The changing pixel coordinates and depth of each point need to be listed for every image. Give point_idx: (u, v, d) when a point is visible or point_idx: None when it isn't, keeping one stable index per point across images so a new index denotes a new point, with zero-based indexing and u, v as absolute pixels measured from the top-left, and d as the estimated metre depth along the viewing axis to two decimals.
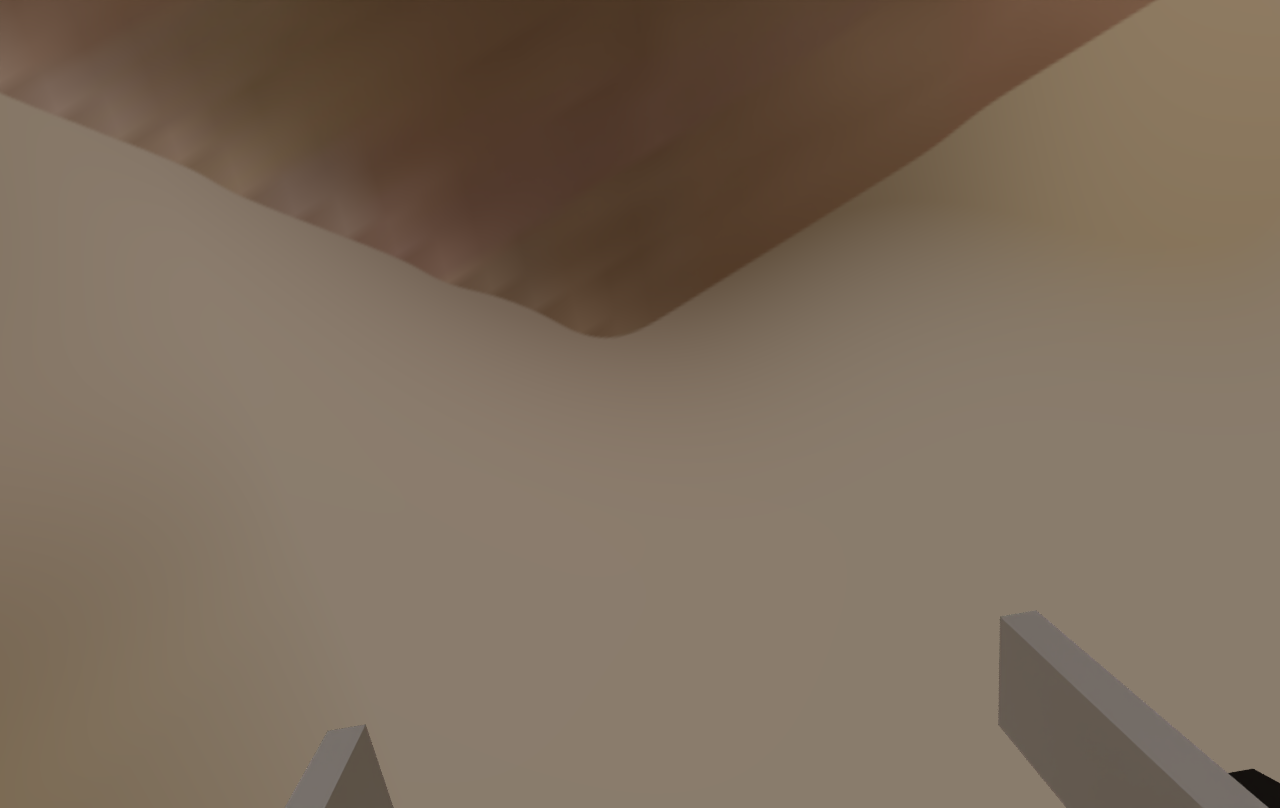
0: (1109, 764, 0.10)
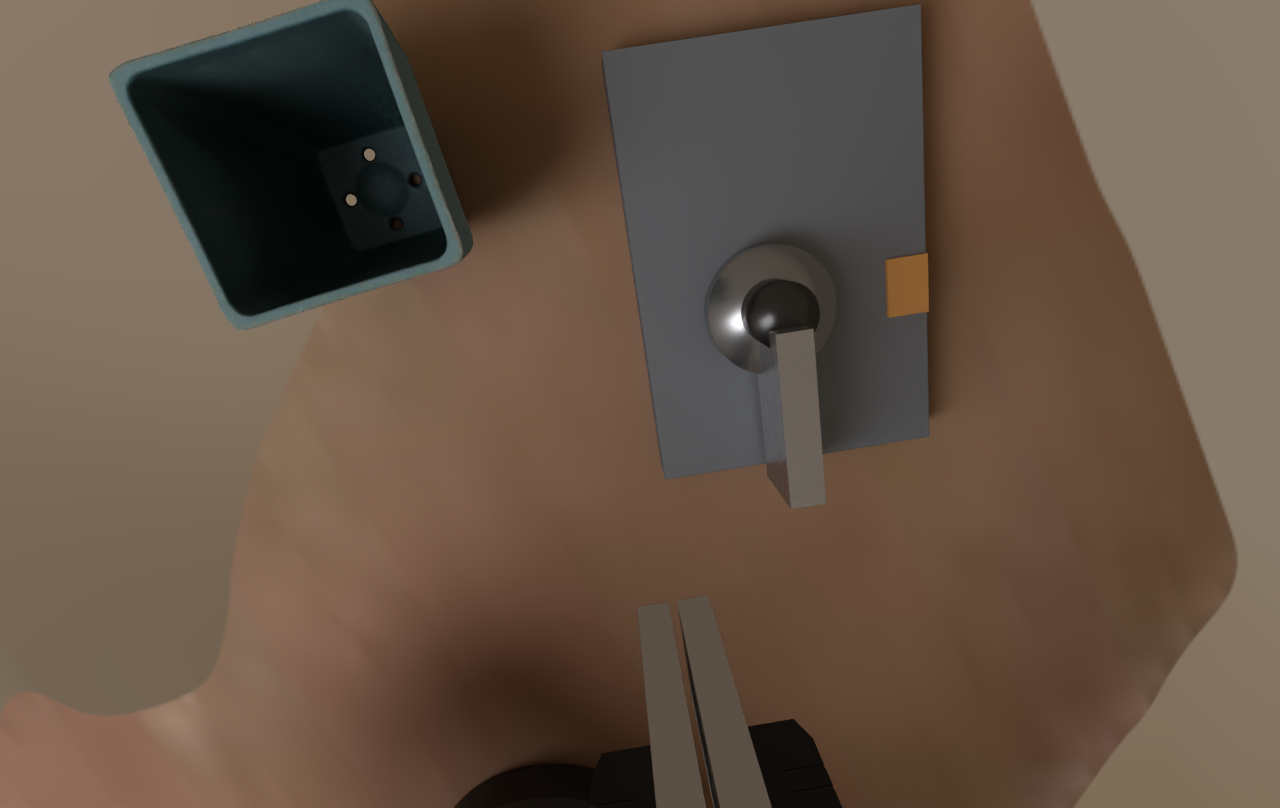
0: (699, 717, 0.12)
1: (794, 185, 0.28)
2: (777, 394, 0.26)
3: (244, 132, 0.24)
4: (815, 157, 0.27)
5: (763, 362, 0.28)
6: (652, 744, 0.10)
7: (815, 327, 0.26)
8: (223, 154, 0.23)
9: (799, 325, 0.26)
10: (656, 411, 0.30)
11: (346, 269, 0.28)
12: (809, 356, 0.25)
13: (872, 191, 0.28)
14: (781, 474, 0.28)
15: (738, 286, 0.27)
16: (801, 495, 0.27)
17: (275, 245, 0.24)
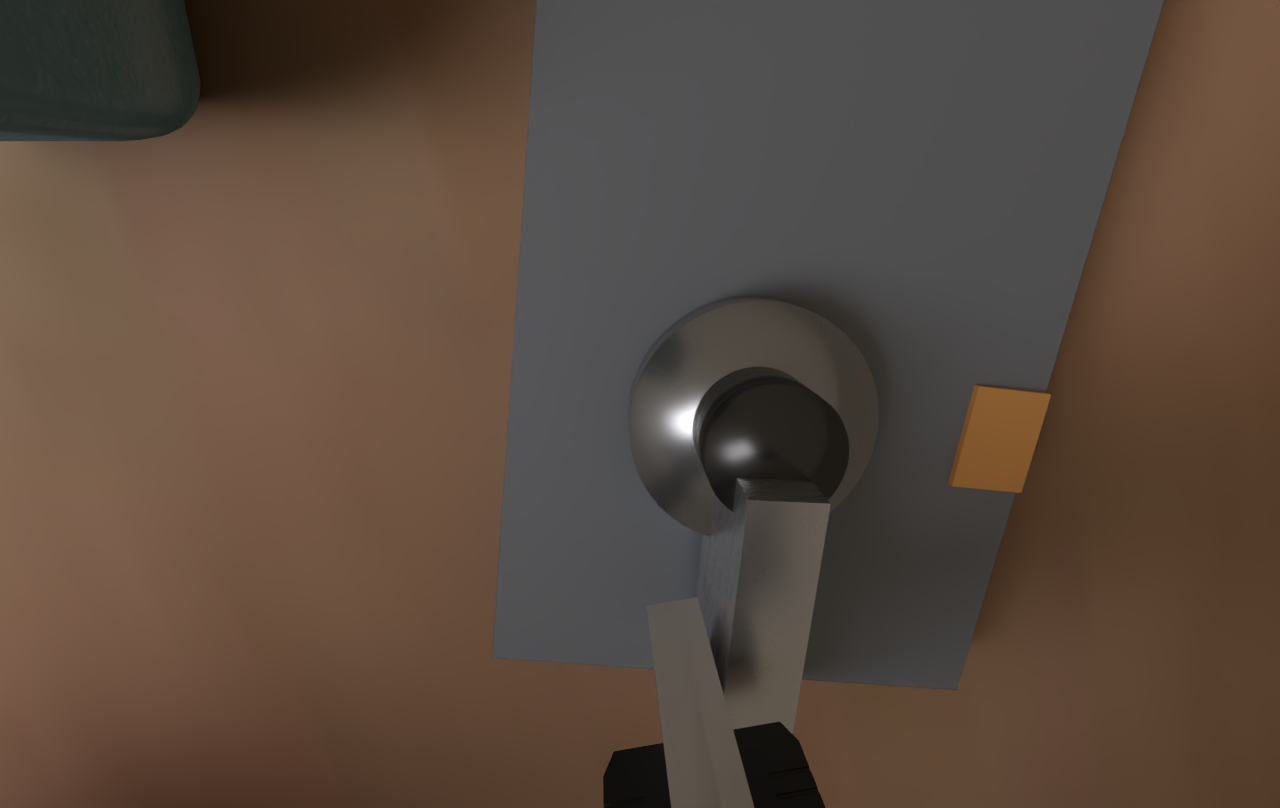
0: None
1: (855, 206, 0.14)
2: (727, 608, 0.13)
3: None
4: (908, 165, 0.14)
5: (716, 522, 0.14)
6: (665, 742, 0.10)
7: (832, 490, 0.13)
8: None
9: (801, 480, 0.12)
10: (502, 540, 0.16)
11: None
12: (810, 557, 0.12)
13: (989, 257, 0.15)
14: None
15: (699, 368, 0.14)
16: None
17: None
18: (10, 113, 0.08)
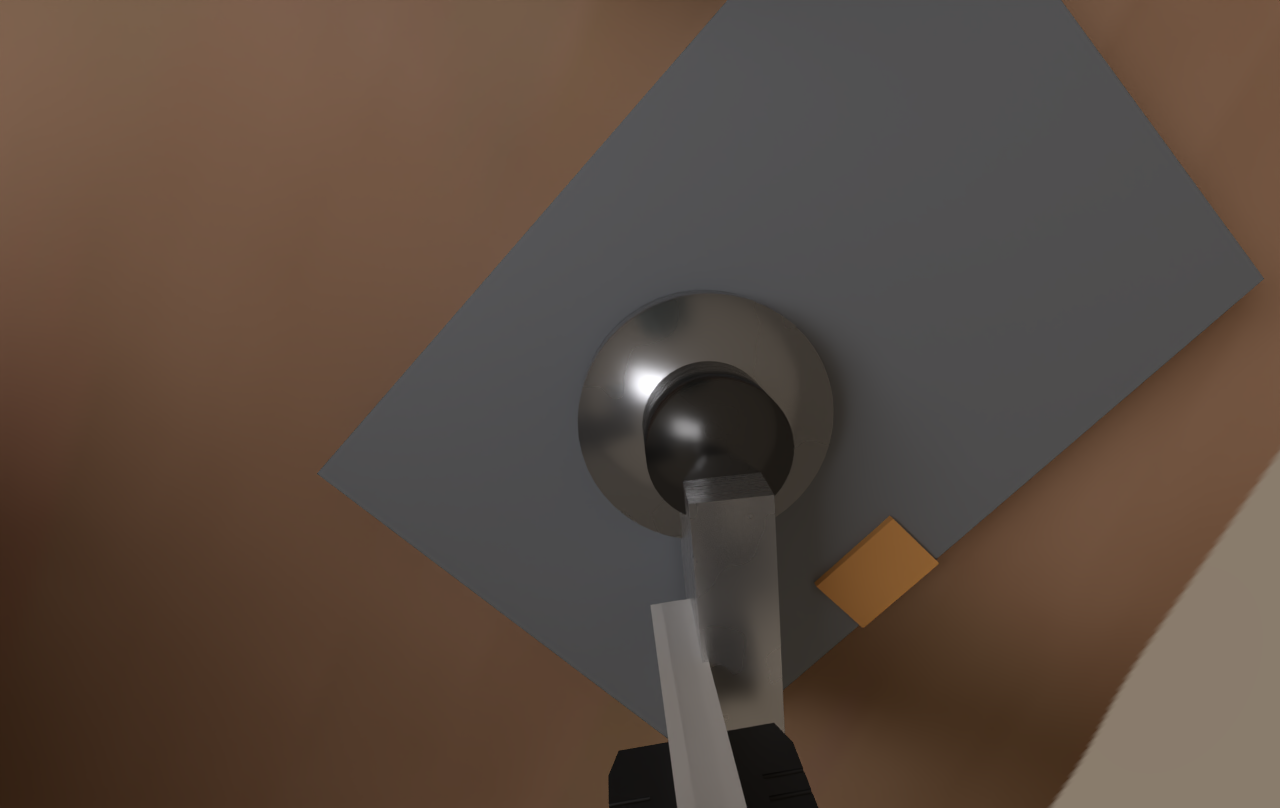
0: None
1: (905, 304, 0.15)
2: (696, 612, 0.12)
3: None
4: (966, 302, 0.15)
5: (682, 524, 0.14)
6: (670, 741, 0.10)
7: (783, 477, 0.12)
8: None
9: (749, 473, 0.12)
10: (408, 372, 0.15)
11: None
12: (764, 551, 0.11)
13: (971, 421, 0.16)
14: None
15: (637, 373, 0.14)
16: None
17: None
18: None
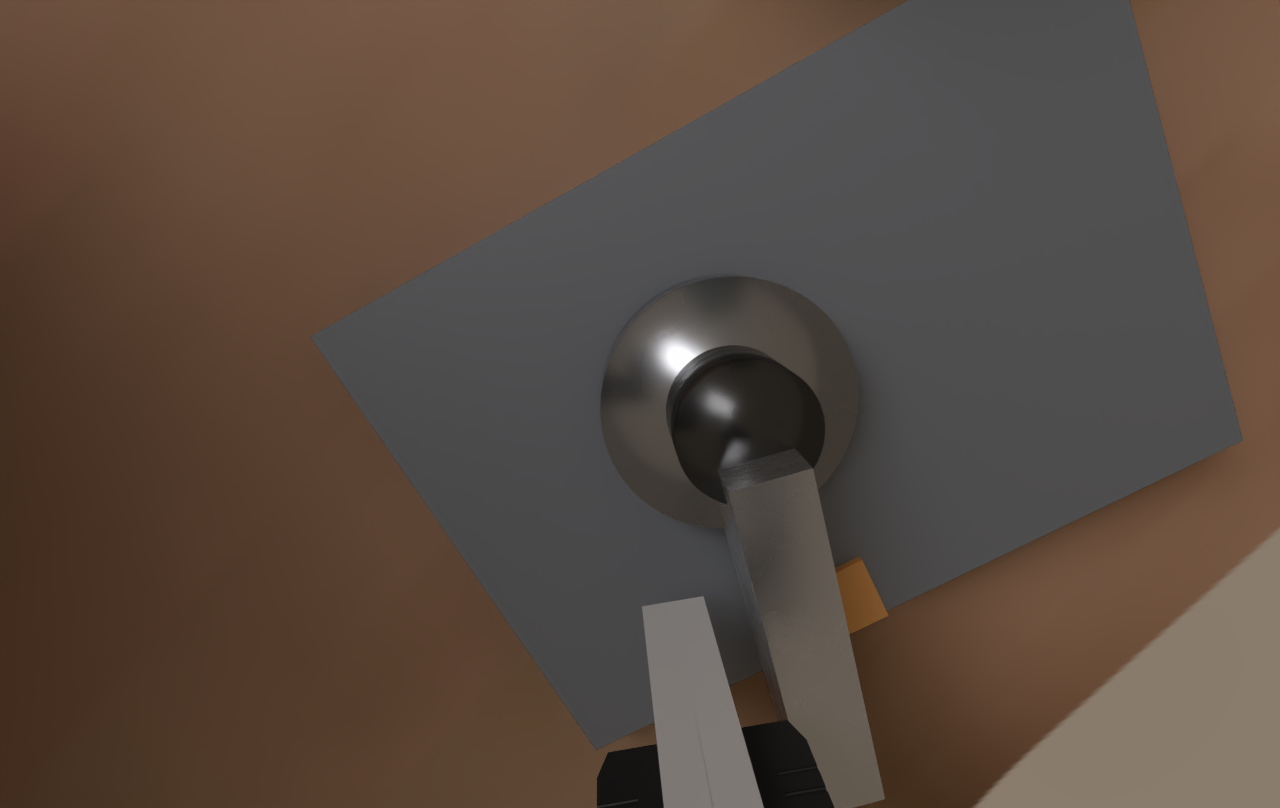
0: None
1: (940, 359, 0.15)
2: (754, 599, 0.12)
3: None
4: (993, 375, 0.15)
5: (723, 514, 0.14)
6: (659, 743, 0.10)
7: (818, 449, 0.12)
8: None
9: (783, 451, 0.12)
10: (445, 263, 0.14)
11: None
12: (813, 526, 0.11)
13: (960, 489, 0.16)
14: None
15: (653, 371, 0.13)
16: (831, 792, 0.13)
17: None
18: None
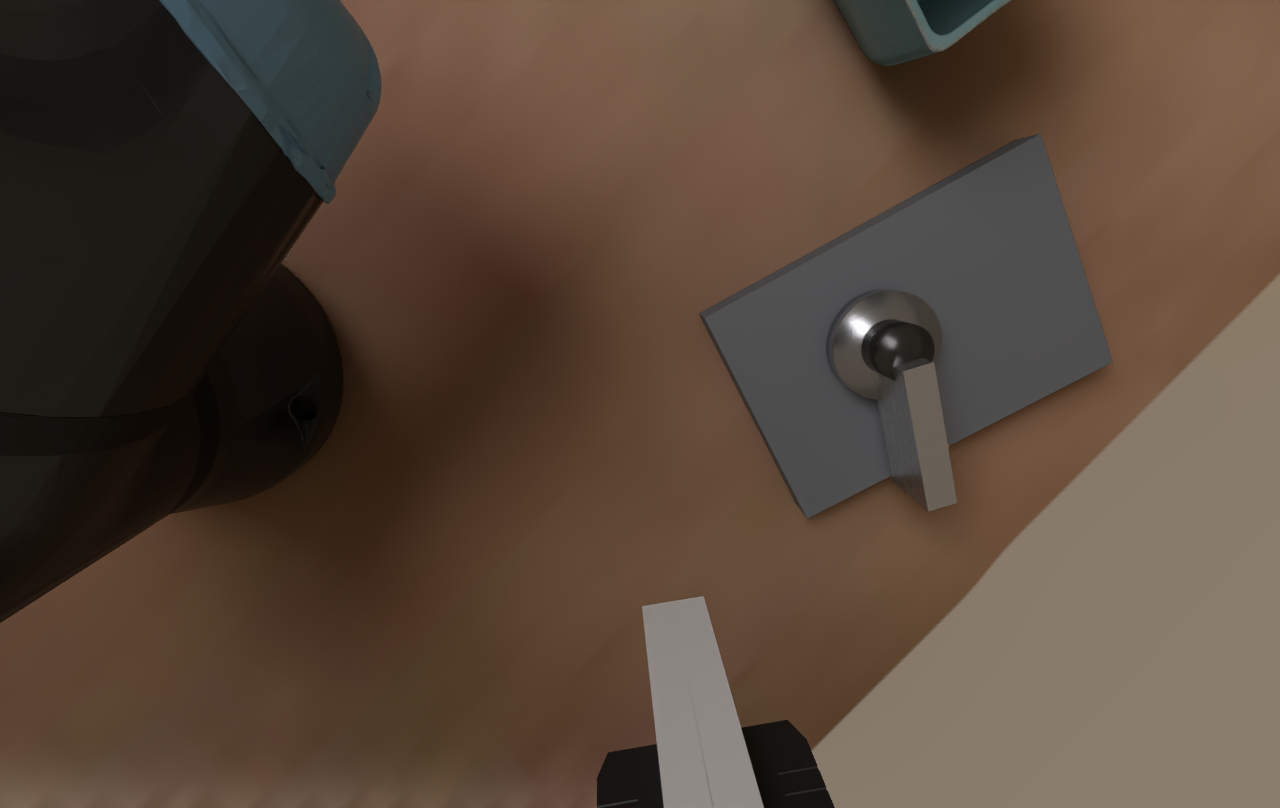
0: None
1: (974, 325, 0.34)
2: (906, 418, 0.31)
3: None
4: (998, 332, 0.34)
5: (886, 390, 0.33)
6: (659, 743, 0.10)
7: (931, 358, 0.31)
8: None
9: (918, 358, 0.31)
10: (764, 286, 0.33)
11: None
12: (933, 384, 0.30)
13: (983, 386, 0.35)
14: (913, 482, 0.33)
15: (857, 330, 0.32)
16: (935, 499, 0.32)
17: None
18: (920, 56, 0.25)
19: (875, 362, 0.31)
